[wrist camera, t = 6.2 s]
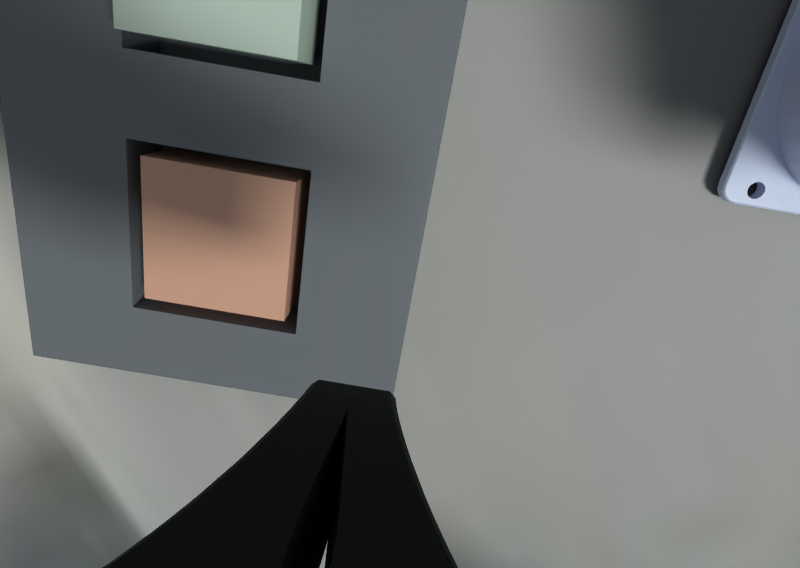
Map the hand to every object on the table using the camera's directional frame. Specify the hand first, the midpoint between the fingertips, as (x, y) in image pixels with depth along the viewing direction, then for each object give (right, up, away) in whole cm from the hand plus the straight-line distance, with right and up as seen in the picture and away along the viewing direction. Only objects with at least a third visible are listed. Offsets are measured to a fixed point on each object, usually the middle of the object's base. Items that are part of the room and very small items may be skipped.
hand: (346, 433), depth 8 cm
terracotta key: (-4, +4, +8) cm, 10 cm away
